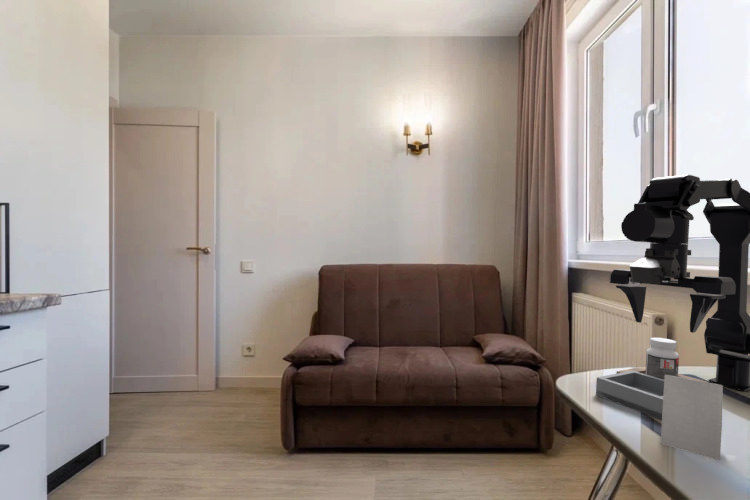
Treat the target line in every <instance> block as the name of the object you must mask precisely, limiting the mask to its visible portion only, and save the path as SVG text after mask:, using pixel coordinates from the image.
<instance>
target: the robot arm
mask: <svg viewBox="0 0 750 500" xmlns="http://www.w3.org/2000/svg"><path fill="white" fill-rule="evenodd" d="M725 199H731V201H732V202H733V203H718V204H714V202H713V201H712V200H725ZM701 200H705V201H706V203H705V205H704V208H703V211H702V213H703V215H704V217H705V219H706V220H707V222H708V224H709V231H710V234H711V235H712V237H713V238H714V239H715V240H716V242H717V243H718V245H719V247H718V248H719V250H718V251H719V252H718V275H717V276H713V275H694V277H693V278H691V272H690V271H688V256H692V249H689V234H690V221H693V220H694V219H695V217H694V215H693V214H692V213H691V212H689V210H688V209H690V207H692V206H694V205H696V204H699V203H700V202H701ZM620 228H621V232H622V234H623V235H624V237H625V238H626V239H627V240H629V241H630V242H639V243H650V245H649V246H650V247H649V248H645V251H644V256H643V257H642V258H639V259H638V260H635V261H634V262H632V263H631V264H629V269H613V270H612V271H611V272H610V274H609V280H608V281H609V283H610V284H615V287H616V289H620V291H622V292H623V293H624V294H625V296H626V298H627V300H628V302H629V305H630V307H631V310H632V313H633V316H634V319H635V322H636V323H642V321H643V317H644V311H645V302H646V296H647V295H646V293H647V286H645V285H644V286H643V285H642V284H648V285H656V286H665V287H675V288H685V289H692V290H693V291H695V293H689V298H690V300H691V311H690V318H689V332H690V333H696V332H697V330H698V329H699V328H700V326H701V324H702V322H703V320H704V319H705V317H706V316H707V314H708V313H709V311H710V310H711V309H712V307H714V305H715V304H716V303H717V308H716V309H717V310H716V311H715V312H714V313H713V314H712V316H710V317H707V319H706V321H705V330H704V334H703V337H704V345H705V351H706V354H708V355H709V354H711V355H715V356H716V369H715V370H716V371H715V377H714V378H709V379H708V381H707V382H709V383H714V384H719V385H723V387H726V388H727V387H728V388H730V389H734V390H739V391H741V392H747V391H750V314H748V312H747V308H748V307H747V305H748V302H747V300H748V280H749V279H748V278H749V277H748V275H749V273H748V272H749V252H750V251H749V249H750V192H749V191H748V190H746V189H744V188H742V186H741V184H740V182H739V180H738V179H733V178H724V179H713V180H701V178H700V177H699V176H696V175H694V174H681V175H673V176H671V175H670V176H663V177H655V178H652V179H650V181H649V184H647V186H646V187H645V189H644V191H643V193H642V194H641V197H640V198H639V199H638V203H634V204H633V210H632V211H629V212H628V213H627V214H626V215H625V217H624V218H623V220H622V222H621V227H620ZM616 284H617V285H616Z"/></svg>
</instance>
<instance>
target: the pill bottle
mask: <svg viewBox="0 0 750 500" xmlns="http://www.w3.org/2000/svg"><path fill="white" fill-rule="evenodd" d="M649 345H650V347H649V348H647V350H646V355H645V356H646V358H645V366H646V372H645V374H646V375H650V376H653V377H657V378H660V379H663V380H664V377H665V375H671V376H676V377H678V374H679V367H680V364H679V363H680V355H679V353H678V352H677V351H676V348H678V345H677V341H676V340H674V339H669V338H665V337H650V338H649Z"/></svg>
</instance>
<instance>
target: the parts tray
mask: <svg viewBox="0 0 750 500" xmlns="http://www.w3.org/2000/svg"><path fill="white" fill-rule="evenodd" d="M616 373H617V372H616ZM616 373H613V374H608V375H603V376H602V375H601V376H597V377H596V385H595V387H596V388H595V395H596V396H597V397H600V398H603V399H606V400H608V401H610V402H614V403H617V404H619V405H621V406H623V407H624V406H625V407H627V408H629V409H632V410H635V411H638V412H640V413H643V414H645V415H648V416H651V417H653V418H657V419H659V420H661V421H662V411H663V394H664V380H663V379H660V378H657V377H653V376H650V375H646V374H643V373H639V372H636V371H628V372H623V373H617V374H616Z"/></svg>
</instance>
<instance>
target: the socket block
mask: <svg viewBox="0 0 750 500" xmlns="http://www.w3.org/2000/svg"><path fill="white" fill-rule="evenodd" d="M628 371H636V372H639V373H643V374H645V372H646V365H644V366H639V367H634V368H633V367H632V368H628V369H623V370H617V371H616V372H615V374H617V373H623V372H628ZM678 377H681V378H687V379H692V380H698V381H703V382H708V383H710V382H709V381H705V380H702V379H698V378H695V377H691V376H687V375H685V374H680V373H678Z"/></svg>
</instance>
